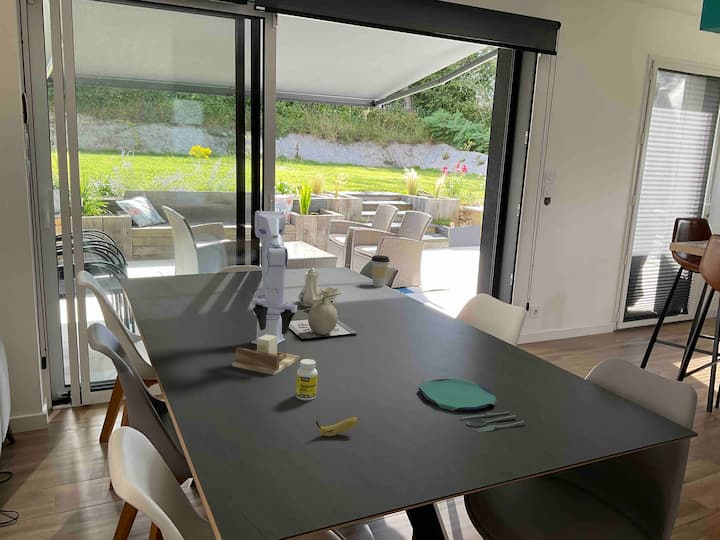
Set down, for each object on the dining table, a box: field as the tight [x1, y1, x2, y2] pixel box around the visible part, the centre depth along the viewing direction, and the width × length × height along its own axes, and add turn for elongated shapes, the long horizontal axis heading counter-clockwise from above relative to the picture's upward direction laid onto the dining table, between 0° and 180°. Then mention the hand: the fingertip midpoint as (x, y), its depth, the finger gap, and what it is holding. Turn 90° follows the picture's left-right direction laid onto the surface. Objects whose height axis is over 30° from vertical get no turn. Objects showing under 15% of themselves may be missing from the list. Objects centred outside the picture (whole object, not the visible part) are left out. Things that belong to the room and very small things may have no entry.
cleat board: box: [231, 347, 301, 376], centre depth 178 cm, size 16×14×5 cm
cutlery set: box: [417, 377, 526, 434], centre depth 156 cm, size 20×30×2 cm, turn 22°
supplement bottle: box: [295, 358, 318, 401], centre depth 154 cm, size 5×5×10 cm
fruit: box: [307, 292, 342, 336], centre depth 209 cm, size 10×12×15 cm
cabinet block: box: [256, 334, 278, 355], centre depth 177 cm, size 6×4×7 cm
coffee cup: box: [371, 254, 391, 288], centre depth 297 cm, size 9×9×15 cm
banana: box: [315, 416, 359, 437], centre depth 134 cm, size 10×2×4 cm, turn 109°
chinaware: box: [297, 267, 340, 308], centre depth 251 cm, size 28×17×17 cm, turn 179°
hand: (273, 331), depth 178 cm, fingers open, 7 cm apart
